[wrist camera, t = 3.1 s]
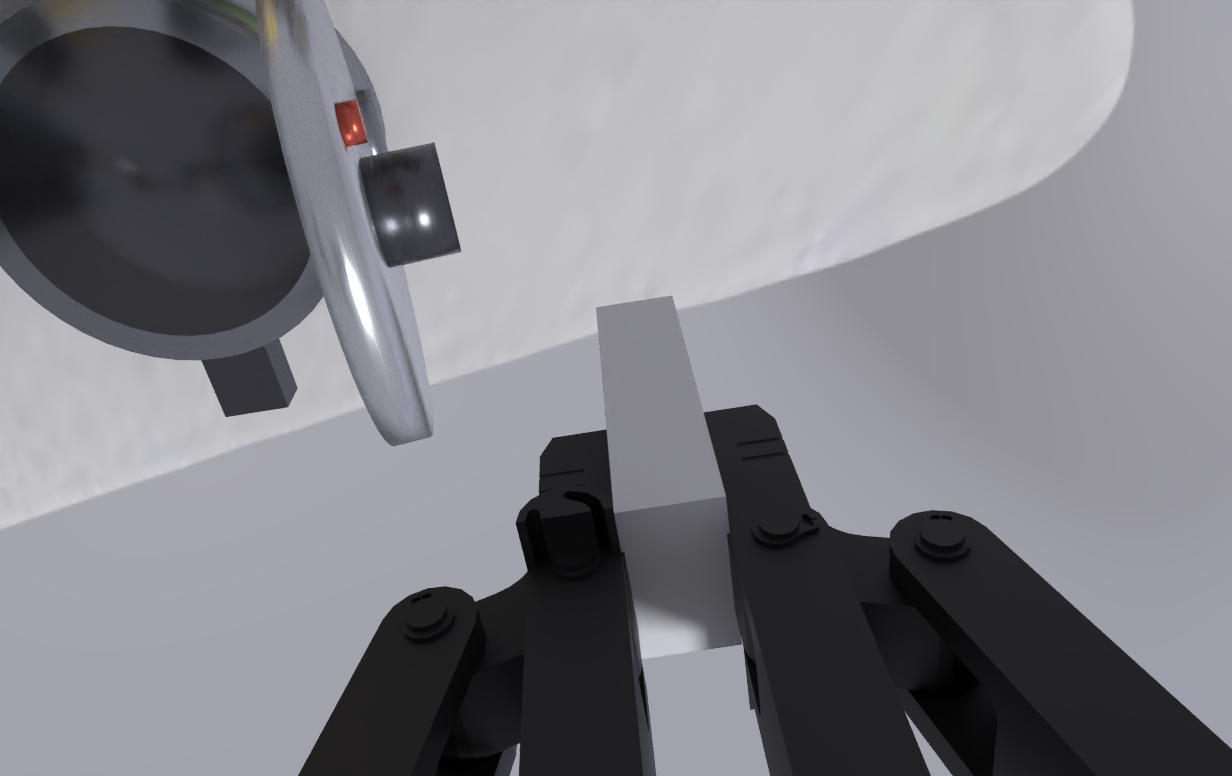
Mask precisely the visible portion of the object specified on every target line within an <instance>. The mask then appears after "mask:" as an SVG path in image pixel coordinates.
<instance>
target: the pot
mask: <svg viewBox="0 0 1232 776" xmlns="http://www.w3.org/2000/svg"><path fill="white" fill-rule="evenodd" d="M334 29H335V28H334ZM335 32H336V35H337V38H338V40H339V43H340V46H341V49H342V52H343V55H344V58H345V61H346V64H347V67H348V71H349V74H350V77H351V80H352V83H353V86H354V90H355V93H356V96H357V99H358V103H359V106H360V109H361V112H362V116H363V119H364V122H365V126H366V129H367V133H368V136H369V139H370V143H371V146H372V150H373V153H374V155H376V154H381V153H386V152H388V149H387V146H386V138H385V127H384V122H383V117H382V112H381V108H380V105H379V102H378V99H377V96H376V93H375V90H374V87H373V85H372V83H371V81H370V79H369V77H368V75H367V73H366V71H365V69H364V67H363V65H362V64H361V62H360V61H359V59H358V57H357V56H356V54H355V53H354V51H353V50H352V48H351V47H350V46H349V45H348V43H347V42H346V41H345V40H344V38H343V37H342V36H341V35H340V33H339V32H338V31H337V30H336V29H335ZM0 266H1V267H2V269H3V270H4V271H5V272H6V273H7V274H8V275H9V276H10V277H11V278H12V279H13V280H14V281H15V282H16V283H17V285H18V286H19V287H20V288H21V289H23V290H24V291H25V292H26V293H27V294H28V295H29V296H31V297H32V298H33V299H34V300H35V301H36V302H37V303H39V304H40V305H41V306H43V307H44V308H45V309H47V310H48V311H50V312H51V313H52V314H54V315H55V316H56V317H58V318H59V319H61V320H62V321H64V322H66V323H67V324H69V325H71V326H73V327H74V328H76V329H78V330H80V331H81V332H83V333H85V334H87V335H89V336H92V337H94V338H96V339H98V340H100V341H103V342H105V343H107V344H110V345H113V346H116V347H119V348H122V349H125V350H128V351H131V352H135V353H139V354H144V355H148V356H152V357H159V358H167V359H175V360H202V363H203V365H204V367H205V370H206V372H207V375H208V377H209V379H210V382H211V384H212V386H213V389H214V391H215V393H216V396H217V398H218V400H219V403H220V405H221V407H222V410H223V412H224V414H225V417H229V416H235V415H242V414H248V413H254V412H260V411H267V410H273V409H279V408H286V407H288V406H289V404H290V402H291V400H292V398H293V396H294V394H295V392H296V390H297V386H296V383H295V380H294V377H293V375H292V372H291V369H290V367H289V364H288V361H287V359H286V356H285V353H284V351H283V348H282V345H281V343H280V340H279V338H280V337H282V336H283V335H285V334H286V333H287V332H289V331H290V330H291V329H293V328H294V327H296V326H297V325H298V324H299V323H300V322H301V321H302V320H303V319H304V318H306V317H307V316H308V315H309V314H310V313H311V312H312V311H313V310H314V308H315V307H316V306H317V304H318V303H319V301H320V300H321V299H322V297H323V296H324V295H323V292H322V289H321V286H320V283H319V280H318V276H317V273H316V270H315V267H314V263H313V260H312V257H311V254H310V250H309V247H308V244H307V240H306V237H305V234H304V230H303V226H302V223H301V219H300V216H299V212H298V209H297V205H296V202H295V198H294V194H293V191H292V187H291V183H290V179H289V175H288V171H287V167H286V164H285V160H284V156H283V152H282V148H281V143H280V139H279V135H278V131H277V126H276V122H275V118H274V114H273V109H272V104H271V99H270V95H269V90H268V85H267V80H266V75H265V70H264V64H263V59H262V53H261V47H260V40H259V33H258V26H257V18H256V7H255V0H43V1H41V2H39V3H36V4H34V5H32V6H29V7H27V8H25V9H22V10H21V11H19V12H18V13H16V14H15V15H13V16H11V17H10V18H8V19H7V20H5V21H4V22H2V23H1V24H0Z"/></svg>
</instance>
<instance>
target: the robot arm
mask: <svg viewBox="0 0 1232 776" xmlns="http://www.w3.org/2000/svg"><path fill="white" fill-rule="evenodd" d="M596 310H597V322H598V334H599V345H600V357H601V369H602V380H603V392H604V403H605V416H606V427H607V430H601V431H594V432H588V433H581V434H575V435H568V436H562V437H555V438H552V440H551V441H550V443H549V444H548V446H547V447H546V449H545V450H544V452H543V453H542V455H541V456H540V474H539V476H540V480H539V496H537V497H535V498H533V499H531V500H530V501H529V502H528V503H527V504H526V505H525V506H524V507H523V508H522V509H521V510H520V512H519V515H518V518H517V521H516V526H517V530H518V534H519V538H520V542H521V546H522V550H523V553H524V557H525V561H526V565H527V569H528V571H527V573H526V574H525V575H524V576H523V577H522V578H521V579H520V580H519V581H517V582H516V583H515V584H513V585H512V586H510V587H509V588H506V589H504V590H503V591H500V592H498V593H496V594H494V595H492V596H489V597H486V598H484V599H481V600H479V601H476V602H475V601H474V599H473V597H472V596H470V595H469V594H467V593H466V592H464V591H463V590H462V589H457V588H451V587H446V586H444V587H436V588H428V589H425V590H422V591H420V592H417V593H414V594H412V595H409V596H408V597H406V598H405V599H404V600H402V601H401V602H399V603H398V604H396V605H395V606H393V608H392V609H391V610H390V611H389V613H388V614H387V615H386V616H385V618H384V619H383V620H382V622H381V624H380V626H379V628H378V630H377V631H376V633H375V635H374V637H373V639H372V640H371V642H370V644H369V646H368V648H367V650H366V652H365V653H364V656H363V657H362V659H361V661H360V663H359V664H358V666H357V668H356V670H355V672H354V674H353V675H352V677H351V679H350V681H349V683H348V685H347V687H346V688H345V690H344V692H343V694H342V696H341V698H340V699H339V701H338V703H337V705H336V707H335V709H334V711H333V712H332V714H331V716H330V718H329V720H328V722H327V723H326V725H325V727H324V729H323V731H322V733H321V734H320V736H319V738H318V740H317V742H316V744H315V746H314V747H313V749H312V751H311V753H310V755H309V757H308V758H307V760H306V762H305V764H304V766H303V768H302V769H301V772H300V773H299V775H298V776H509V775H510V772H511V769H512V766H513V763H514V760H515V757H516V748H517V744H518V743H520V764H519V776H656V770H655V760H654V751H653V743H652V734H651V724H650V715H649V706H648V697H647V688H646V683H645V677H644V672H643V667H642V660H641V659H646V658H653V657H659V656H666V655H673V654H679V653H686V652H693V651H700V650H707V649H714V648H721V647H727V646H734V645H741V644H742V642H743V646H744V655H745V665H746V674H747V683H748V693H749V702H750V710H752V709H755V712H756V717H757V721H758V725H759V729H760V734H761V738H762V743H763V747H764V751H765V756H766V760H767V764H768V768H769V773H770V776H931V775H930V773H929V770H928V768H927V766H926V763H925V760H924V758H923V756H922V753H921V751H920V748H919V746H918V743H917V741H916V738H915V736H914V734H913V731H912V729H911V726H910V724H909V721H908V719H907V717H906V714H907V715H908V716H909V718H910V719H911V720H912V722H913V723H914V724H915V726H916V727H917V728H918V730H919V731H920V732H921V734H922V735H923V736H924V738H925V739H926V740H927V742H928V743H929V745H930V746H931V747H932V749H933V750H934V751H935V752H936V754H937V755H938V757H939V758H940V759H941V761H942V762H943V763H944V765H945V766H946V767H947V769H948V770H949V771H950V773H951V774H952V775H953V776H1232V749H1231V748H1230V747H1229V746H1228V745H1227V744H1226V743H1224V742H1223V741H1222V740H1221V739H1220V738H1219V737H1218V736H1217V735H1216V734H1214V733H1213V732H1212V731H1211V730H1210V729H1209V728H1208V727H1207V726H1206V725H1204V724H1203V723H1202V722H1201V721H1200V720H1199V719H1198V718H1196V716H1195V715H1193V714H1192V713H1191V712H1190V711H1189V710H1188V709H1187V708H1186V707H1185V706H1184V705H1182V704H1181V703H1180V702H1179V701H1178V700H1177V699H1176V698H1175V697H1174V696H1172V695H1171V694H1170V693H1169V692H1168V691H1167V690H1166V689H1165V688H1164V687H1163V686H1161V685H1160V684H1159V683H1158V682H1157V681H1156V680H1155V679H1154V678H1153V677H1151V676H1150V675H1149V674H1148V673H1147V672H1146V671H1145V670H1144V669H1142V668H1141V667H1140V666H1139V665H1138V664H1137V663H1136V662H1135V661H1134V660H1133V659H1132V658H1130V657H1129V656H1128V655H1127V654H1126V653H1125V652H1124V651H1123V650H1122V649H1121V648H1119V647H1118V646H1117V645H1116V644H1115V643H1114V642H1113V641H1112V640H1110V639H1109V638H1108V637H1107V636H1106V635H1105V634H1104V633H1103V632H1102V631H1101V630H1100V629H1098V628H1097V627H1096V626H1095V625H1094V624H1093V623H1092V622H1091V621H1090V620H1088V619H1087V618H1086V617H1085V616H1084V615H1083V614H1082V613H1081V612H1079V610H1077V609H1076V608H1075V607H1074V606H1073V605H1072V604H1071V603H1070V602H1069V601H1067V600H1066V599H1065V598H1064V597H1063V596H1062V595H1061V594H1060V593H1059V592H1057V591H1056V590H1055V589H1054V588H1053V587H1052V586H1051V585H1050V584H1049V583H1048V582H1046V581H1045V580H1044V579H1043V578H1042V577H1041V576H1040V575H1039V574H1038V573H1036V572H1035V571H1034V570H1033V569H1032V568H1031V567H1030V566H1029V565H1028V564H1027V563H1025V562H1024V561H1023V560H1022V559H1021V558H1020V557H1019V556H1018V555H1017V554H1016V553H1014V552H1013V551H1012V550H1011V549H1010V548H1009V547H1008V546H1007V545H1005V544H1004V543H1003V542H1002V541H1001V540H1000V539H999V538H998V537H997V536H996V535H994V534H993V533H992V532H991V531H990V530H989V529H988V528H987V527H985V526H984V525H982V524H981V523H979V522H978V521H976V520H974V519H973V518H971V517H968V516H965V515H961V514H958V513H955V512H951V511H935V510H931V511H926V512H919V513H914V514H911V515H910V516H908V517H906V518H904V519H902V520H900V521H898V523H897V524H896V525H895V527H894V528H893V529H892V530H891V532H890V538H884V537H870V536H861V535H854V534H848V533H845V532H842V531H839V530H836V529H834V528H832V527H830V526H828V524H827V522H826V521H825V520H824V518H823V517H822V516H821V515H820V513H818V512H816V511H815V510H813V509H811V507H810V506H809V503H808V501H807V498H806V495H805V493H804V491H803V488H802V485H801V483H800V480H799V478H798V475H797V473H796V470H795V468H794V465H793V463H792V460H791V458H790V455H788V450H787V448H786V445H785V442H784V440H783V439H782V435H781V432H780V430H779V427H778V425H777V422H776V420H775V418H774V417H772V416H771V415H769V414H768V413H767V412H766V411H764V410H763V409H762V408H760V407H759V406H758V405H750V406H744V407H737V408H730V409H724V410H717V411H711V412H704V413H703V409H702V405H701V402H700V398H699V394H698V390H697V387H696V383H695V379H694V376H693V372H692V368H691V364H690V361H689V357H688V353H687V349H686V346H685V342H684V338H683V334H682V331H681V327H680V323H679V320H678V316H677V312H676V308H675V305H674V301H673V297H672V296H667V297H660V298H654V299H648V300H641V301H635V302H628V303H622V304H616V305H609V306H603V307H597V308H596ZM741 638H742V642H741ZM904 711H905V712H906V714H905V712H904Z"/></svg>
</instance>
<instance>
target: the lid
mask: <svg viewBox="0 0 1232 776" xmlns="http://www.w3.org/2000/svg"><path fill="white" fill-rule="evenodd" d="M255 7H256V18H257V26H258V33H259V40H260V47H261V53H262V59H263V64H264V70H265V75H266V80H267V85H268V90H269V95H270V99H271V104H272V109H273V114H274V118H275V122H276V126H277V131H278V135H279V139H280V143H281V148H282V152H283V156H284V160H285V164H286V167H287V171H288V175H289V179H290V183H291V187H292V191H293V194H294V198H295V202H296V205H297V209H298V212H299V216H300V219H301V223H302V226H303V230H304V234H305V237H306V240H307V244H308V247H309V250H310V254H311V257H312V260H313V263H314V267H315V270H316V273H317V276H318V280H319V283H320V286H321V289H322V292H323V295H324V298H325V301H326V304H327V307H328V310H329V313H330V316H331V319H332V322H333V325H334V327H335V330H336V333H337V336H338V339H339V342H340V344H341V347H342V350H343V352H344V355H345V358H346V360H347V363H348V366H349V368H350V371H351V373H352V376H353V378H354V381H355V383H356V385H357V388H358V390H359V392H360V395H361V397H362V399H363V401H364V404H365V406H366V408H367V410H368V412H369V414H370V416H371V418H372V420H373V422H374V424H375V425H376V427H377V429H378V431H379V432H380V434H381V435H382V437H383V438H384V440H385V441H386V442H387V443H388V444H389V445H391V446H397V445H401V444H405V443H409V442H413V441H417V440H421V439H425V438H429V437H431V436H432V435H433V413H432V404H431V396H430V390H429V384H428V378H427V372H426V367H425V361H424V356H423V351H422V346H421V341H420V337H419V332H418V327H417V323H416V318H415V314H414V309H413V305H412V300H411V296H410V292H409V288H408V283H407V279H406V275H405V271H404V267H403V265H405V264H410V263H414V262H419V261H423V260H427V259H432V258H436V257H441V256H445V255H450V254H454V253H459V252H461V248H460V244H459V240H458V236H457V232H456V228H455V224H454V220H453V216H452V212H451V208H450V204H449V200H448V196H447V192H446V188H445V183H444V179H443V175H442V171H441V167H440V163H439V159H438V155H437V151H436V148H435V144H434V143H430V144H425V145H420V146H415V147H410V148H405V149H400V150H396V151H391V152H386V153H381V154H376V155H374V153H373V150H372V146H371V143H370V139H369V136H368V133H367V129H366V126H365V122H364V119H363V116H362V112H361V109H360V106H359V103H358V99H357V96H356V93H355V90H354V86H353V83H352V80H351V77H350V74H349V71H348V67H347V64H346V61H345V58H344V55H343V52H342V49H341V46H340V43H339V40H338V38H337V35H336V32H335V29H334V26H333V23H332V21H331V18H330V15H329V13H328V10H327V7H326V5H325V2H324V0H255Z"/></svg>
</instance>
